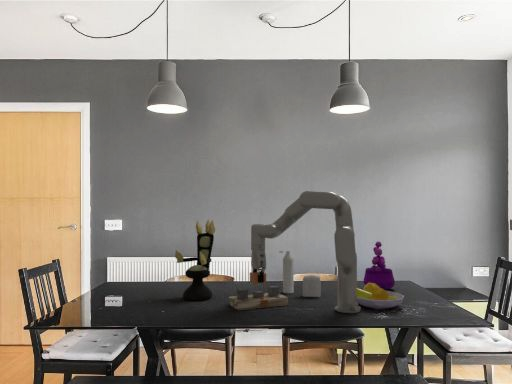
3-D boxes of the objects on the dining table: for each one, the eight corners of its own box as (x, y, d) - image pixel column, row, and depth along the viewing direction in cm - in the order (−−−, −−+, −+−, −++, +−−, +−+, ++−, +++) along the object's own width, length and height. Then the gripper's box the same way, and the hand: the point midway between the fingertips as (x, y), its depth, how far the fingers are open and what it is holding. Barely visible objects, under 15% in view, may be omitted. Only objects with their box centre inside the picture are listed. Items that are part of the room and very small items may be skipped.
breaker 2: (263, 302, 212) (263, 292, 212) (256, 303, 211) (256, 292, 211) (260, 300, 216) (260, 290, 217) (252, 301, 215) (252, 291, 215)
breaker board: (288, 305, 212) (288, 296, 212) (238, 310, 201) (238, 301, 201) (276, 299, 225) (276, 290, 226) (229, 304, 214) (229, 295, 214)
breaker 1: (248, 300, 209) (248, 289, 209) (240, 301, 207) (240, 290, 207) (244, 298, 213) (244, 288, 213) (237, 299, 211) (237, 289, 211)
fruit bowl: (407, 303, 215) (407, 282, 216) (397, 315, 192) (397, 291, 192) (356, 297, 229) (356, 277, 230) (340, 308, 206) (340, 285, 206)
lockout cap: (266, 283, 212) (266, 273, 212) (254, 284, 210) (254, 274, 210) (261, 280, 218) (261, 271, 218) (249, 281, 216) (249, 272, 216)
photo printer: (320, 295, 234) (320, 274, 234) (321, 297, 230) (320, 275, 230) (302, 295, 235) (302, 274, 235) (302, 297, 231) (302, 275, 231)
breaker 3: (279, 297, 216) (278, 287, 216) (271, 298, 214) (271, 287, 214) (275, 295, 220) (275, 285, 220) (268, 296, 218) (268, 286, 218)
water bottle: (294, 291, 246) (294, 250, 247) (292, 293, 239) (292, 251, 240) (280, 290, 248) (280, 250, 249) (278, 293, 242) (278, 251, 243)
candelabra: (173, 299, 226) (174, 219, 228) (197, 292, 246) (197, 218, 247) (201, 303, 217) (201, 219, 219) (223, 295, 237) (223, 218, 238)
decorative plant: (399, 292, 242) (398, 242, 243) (368, 292, 243) (367, 242, 244) (389, 286, 261) (388, 240, 262) (360, 286, 261) (360, 240, 263)
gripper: (271, 248, 208) (271, 283, 207) (257, 245, 224) (257, 277, 223) (258, 249, 205) (258, 284, 204) (245, 246, 221) (245, 278, 220)
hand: (257, 280), depth 214 cm, fingers closed on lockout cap, 6 cm apart
